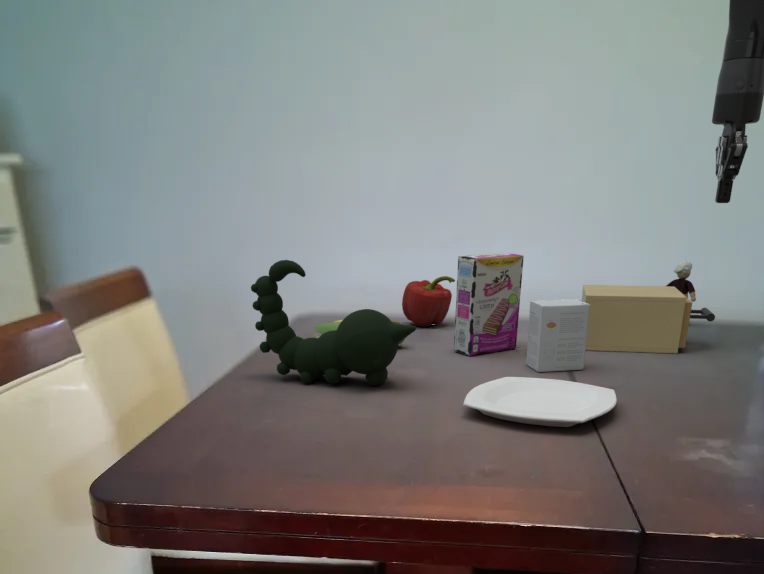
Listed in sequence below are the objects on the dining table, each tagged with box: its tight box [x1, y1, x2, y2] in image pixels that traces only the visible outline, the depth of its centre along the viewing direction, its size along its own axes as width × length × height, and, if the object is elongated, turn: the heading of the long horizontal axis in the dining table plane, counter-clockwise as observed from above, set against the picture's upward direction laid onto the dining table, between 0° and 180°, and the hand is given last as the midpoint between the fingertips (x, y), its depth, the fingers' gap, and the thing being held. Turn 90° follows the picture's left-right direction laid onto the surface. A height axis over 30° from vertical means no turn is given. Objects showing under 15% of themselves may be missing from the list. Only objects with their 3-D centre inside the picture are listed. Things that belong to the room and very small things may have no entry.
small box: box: [525, 298, 590, 373], centre depth 120 cm, size 8×6×10 cm
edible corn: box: [313, 319, 408, 346], centre depth 139 cm, size 5×20×5 cm, turn 61°
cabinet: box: [581, 284, 686, 354], centre depth 136 cm, size 17×14×10 cm
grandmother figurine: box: [665, 260, 697, 303], centre depth 153 cm, size 8×4×13 cm, turn 46°
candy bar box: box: [453, 252, 525, 357], centre depth 130 cm, size 11×5×16 cm, turn 123°
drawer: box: [678, 294, 716, 349], centre depth 135 cm, size 20×12×8 cm, turn 78°
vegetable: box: [401, 275, 456, 327], centre depth 155 cm, size 11×10×10 cm
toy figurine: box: [250, 259, 417, 387], centre depth 111 cm, size 9×19×25 cm
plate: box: [463, 376, 618, 428], centre depth 99 cm, size 19×19×2 cm
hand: (722, 202), depth 132 cm, fingers closed
